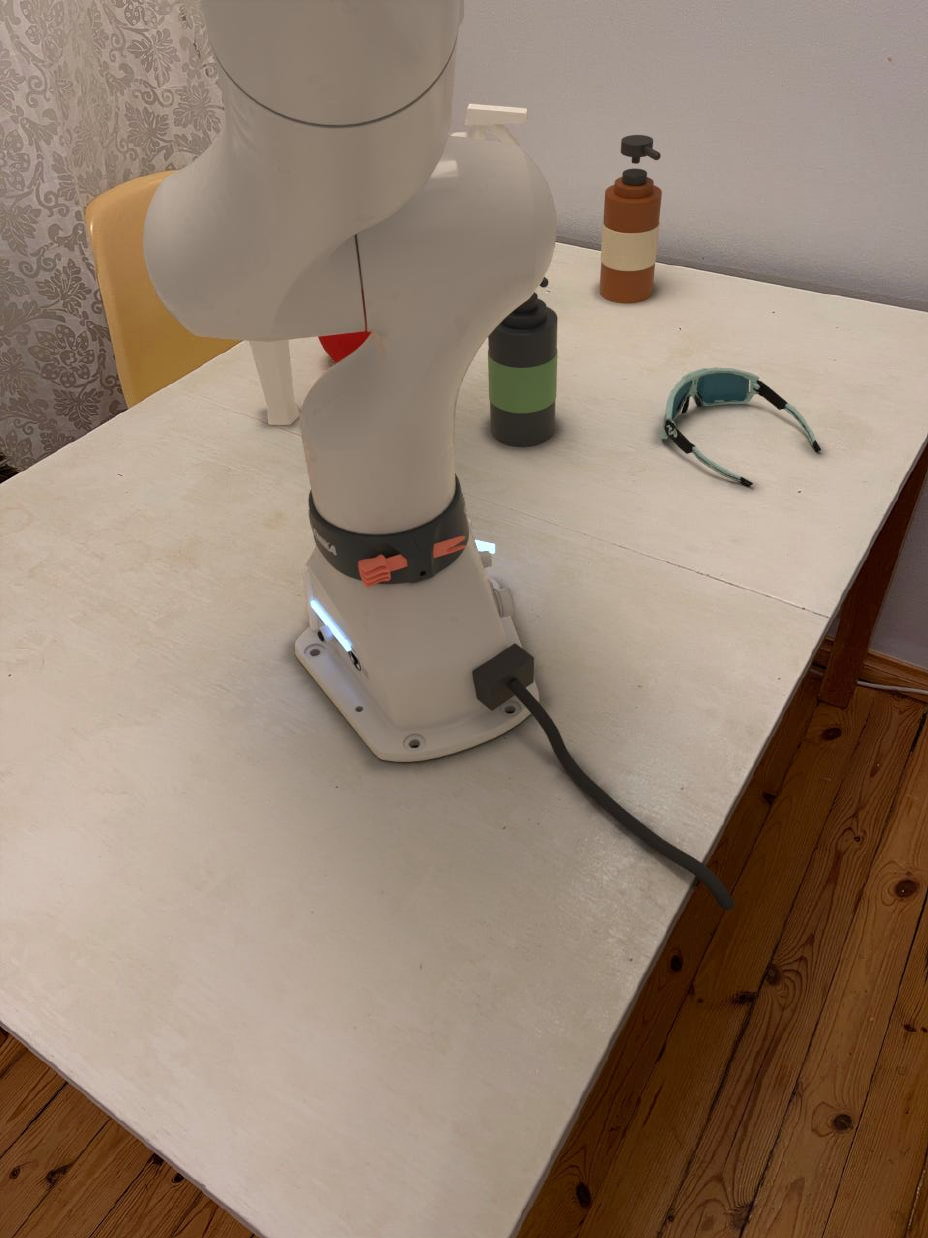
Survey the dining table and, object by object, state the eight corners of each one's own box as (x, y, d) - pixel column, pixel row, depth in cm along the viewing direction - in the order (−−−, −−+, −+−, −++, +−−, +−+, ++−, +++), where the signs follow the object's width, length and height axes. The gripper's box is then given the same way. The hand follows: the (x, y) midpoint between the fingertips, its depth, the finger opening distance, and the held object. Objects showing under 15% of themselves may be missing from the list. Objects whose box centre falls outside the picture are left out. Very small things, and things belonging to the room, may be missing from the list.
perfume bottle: (306, 405, 111) (284, 280, 101) (298, 426, 108) (274, 299, 98) (268, 405, 112) (242, 280, 101) (258, 426, 109) (230, 298, 98)
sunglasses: (727, 387, 110) (739, 349, 106) (827, 460, 102) (842, 422, 98) (634, 429, 104) (642, 391, 101) (731, 509, 97) (744, 471, 93)
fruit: (313, 377, 116) (299, 298, 109) (333, 341, 122) (322, 264, 116) (387, 381, 115) (379, 301, 108) (404, 344, 121) (397, 266, 114)
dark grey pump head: (671, 171, 115) (673, 148, 113) (643, 177, 114) (645, 154, 112) (641, 155, 120) (642, 132, 118) (614, 160, 119) (615, 137, 117)
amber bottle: (663, 296, 128) (675, 175, 117) (615, 308, 126) (624, 186, 115) (635, 275, 132) (644, 158, 122) (589, 287, 131) (594, 168, 120)
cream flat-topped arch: (439, 302, 129) (426, 97, 112) (529, 305, 127) (530, 97, 110) (430, 325, 124) (415, 115, 107) (523, 329, 123) (523, 115, 105)
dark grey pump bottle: (567, 437, 104) (571, 302, 94) (507, 454, 102) (505, 318, 92) (537, 406, 109) (538, 274, 99) (479, 421, 107) (474, 289, 97)
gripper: (197, -96, 77) (233, 93, 87) (442, -91, 72) (450, 108, 82) (233, -112, 81) (263, 70, 91) (467, -108, 76) (471, 84, 86)
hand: (354, 89), depth 86 cm, fingers open, 8 cm apart
